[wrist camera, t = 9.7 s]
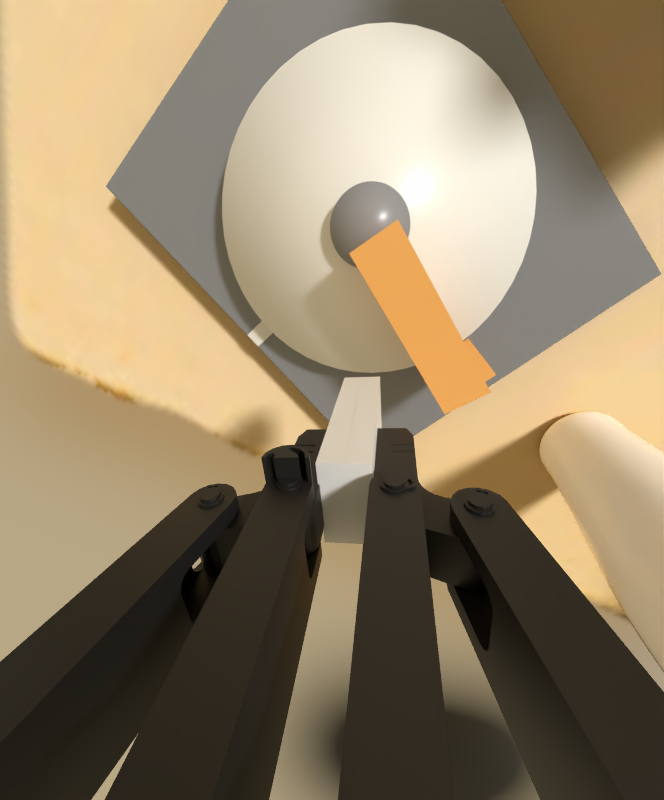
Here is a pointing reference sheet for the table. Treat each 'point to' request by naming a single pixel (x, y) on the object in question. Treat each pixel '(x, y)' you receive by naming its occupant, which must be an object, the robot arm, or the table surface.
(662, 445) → the table surface
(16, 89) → the table surface
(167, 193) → the dial housing
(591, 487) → the drinking glass
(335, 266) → the dial
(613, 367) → the table surface
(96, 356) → the table surface
